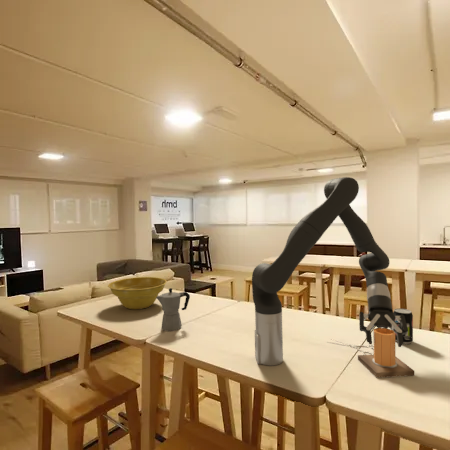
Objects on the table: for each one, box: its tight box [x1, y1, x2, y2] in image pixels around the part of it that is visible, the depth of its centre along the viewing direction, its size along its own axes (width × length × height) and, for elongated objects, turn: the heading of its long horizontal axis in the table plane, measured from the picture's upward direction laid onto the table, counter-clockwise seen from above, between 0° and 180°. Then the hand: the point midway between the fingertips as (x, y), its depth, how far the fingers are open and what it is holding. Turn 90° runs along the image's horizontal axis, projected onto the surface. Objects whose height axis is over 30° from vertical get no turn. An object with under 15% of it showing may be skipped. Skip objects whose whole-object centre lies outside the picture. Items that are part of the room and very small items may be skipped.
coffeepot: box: [156, 288, 191, 332], centre depth 144 cm, size 15×9×18 cm, turn 110°
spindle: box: [357, 354, 415, 378], centre depth 103 cm, size 12×12×8 cm
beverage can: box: [393, 308, 414, 345], centre depth 123 cm, size 7×7×12 cm
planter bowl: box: [107, 276, 168, 310], centre depth 180 cm, size 32×32×13 cm
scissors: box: [328, 338, 374, 355], centre depth 120 cm, size 11×1×20 cm
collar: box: [373, 327, 396, 366], centre depth 103 cm, size 6×6×10 cm
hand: (385, 344), depth 101 cm, fingers open, 8 cm apart
